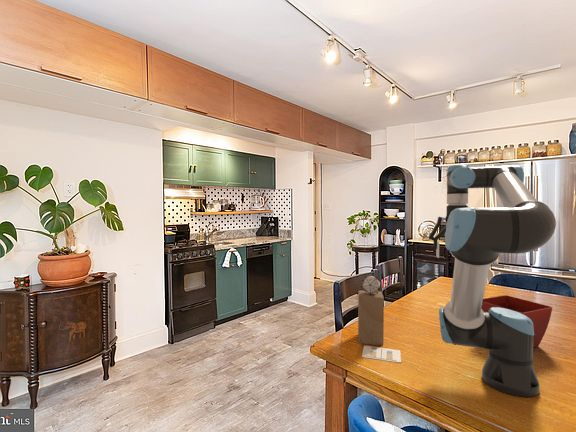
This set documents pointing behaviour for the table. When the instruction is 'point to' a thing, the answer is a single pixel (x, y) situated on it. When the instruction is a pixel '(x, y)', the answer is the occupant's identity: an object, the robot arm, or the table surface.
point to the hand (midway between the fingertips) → (456, 258)
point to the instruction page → (382, 354)
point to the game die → (371, 284)
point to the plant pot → (523, 312)
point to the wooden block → (370, 318)
